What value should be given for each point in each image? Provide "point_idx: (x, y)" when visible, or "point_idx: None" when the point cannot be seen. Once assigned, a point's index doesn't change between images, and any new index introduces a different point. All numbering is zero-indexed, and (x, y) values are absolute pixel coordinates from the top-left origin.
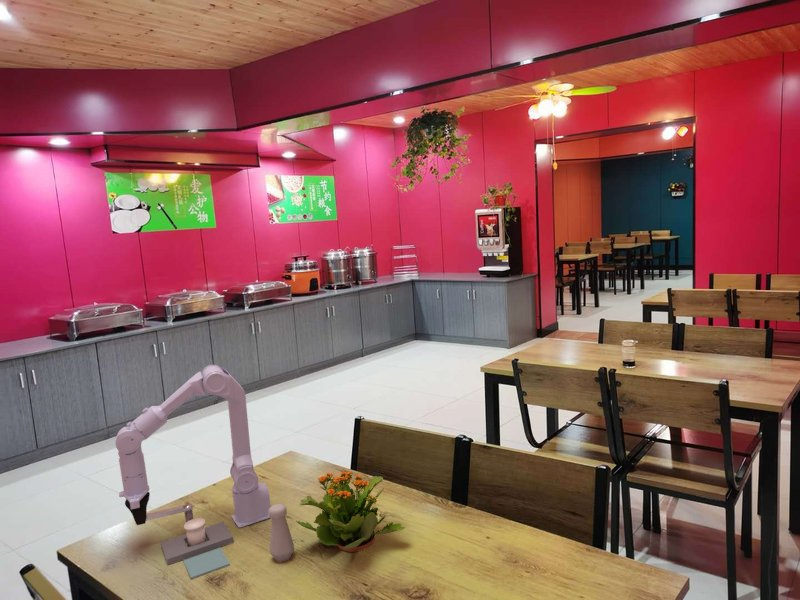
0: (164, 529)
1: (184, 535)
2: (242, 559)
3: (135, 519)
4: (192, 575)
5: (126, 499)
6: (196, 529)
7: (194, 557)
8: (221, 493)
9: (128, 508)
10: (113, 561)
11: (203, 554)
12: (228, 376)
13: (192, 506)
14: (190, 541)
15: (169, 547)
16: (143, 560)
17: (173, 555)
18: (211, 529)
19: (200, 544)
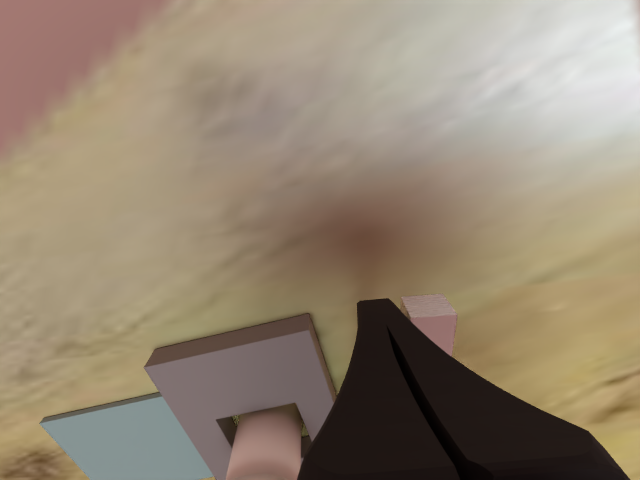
0: (472, 305)
1: (321, 402)
2: None
3: (359, 331)
4: (52, 426)
5: (531, 475)
6: None
7: (171, 422)
8: (634, 453)
9: (319, 431)
10: (267, 117)
11: (183, 442)
12: None
13: None
14: (237, 435)
15: (241, 365)
16: (224, 259)
17: (169, 384)
18: None
19: (224, 449)
